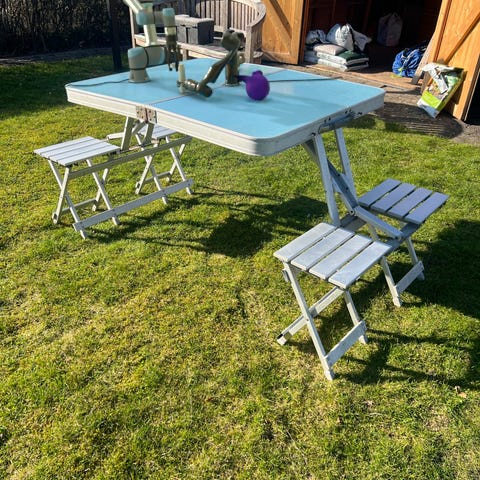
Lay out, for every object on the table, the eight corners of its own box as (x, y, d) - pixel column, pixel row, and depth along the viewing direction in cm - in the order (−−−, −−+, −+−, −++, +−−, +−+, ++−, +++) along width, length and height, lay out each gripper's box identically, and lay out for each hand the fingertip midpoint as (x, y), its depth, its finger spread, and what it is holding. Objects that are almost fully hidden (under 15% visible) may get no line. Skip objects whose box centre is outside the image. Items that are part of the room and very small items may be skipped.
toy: (254, 92, 298) (269, 106, 277) (229, 87, 290) (243, 101, 270) (261, 68, 290) (277, 80, 269) (236, 62, 282) (250, 75, 262)
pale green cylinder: (187, 91, 305) (185, 63, 296) (185, 92, 302) (183, 64, 293) (181, 91, 306) (179, 63, 297) (179, 92, 303) (176, 64, 293)
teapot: (225, 72, 363) (224, 52, 355) (218, 70, 371) (218, 50, 364) (248, 69, 372) (247, 50, 364) (241, 67, 381) (240, 48, 373)
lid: (169, 67, 310) (168, 63, 309) (175, 66, 312) (174, 63, 311) (172, 68, 306) (172, 64, 305) (178, 67, 309) (178, 63, 308)
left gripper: (156, 34, 300) (160, 71, 311) (178, 35, 292) (181, 72, 304) (163, 33, 306) (166, 69, 317) (184, 34, 298) (187, 71, 309)
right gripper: (201, 78, 292) (189, 74, 304) (181, 81, 285) (170, 77, 298) (202, 90, 295) (190, 86, 308) (182, 93, 289) (171, 88, 301)
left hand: (174, 71), depth 310 cm, fingers closed on lid, 5 cm apart
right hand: (180, 81), depth 303 cm, fingers closed on pale green cylinder, 4 cm apart
